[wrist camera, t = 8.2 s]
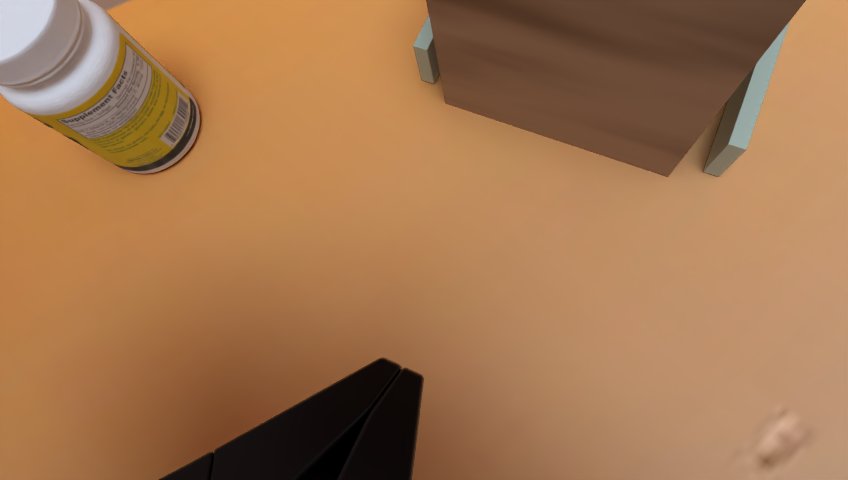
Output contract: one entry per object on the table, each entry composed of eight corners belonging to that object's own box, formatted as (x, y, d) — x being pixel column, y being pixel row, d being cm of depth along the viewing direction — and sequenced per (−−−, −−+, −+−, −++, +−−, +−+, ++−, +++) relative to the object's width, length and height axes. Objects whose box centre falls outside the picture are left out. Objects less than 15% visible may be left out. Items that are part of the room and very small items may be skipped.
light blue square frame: (718, 176, 21) (746, 149, 19) (421, 79, 24) (413, 45, 22) (792, -37, 23) (825, -86, 21) (509, -103, 26) (510, -152, 24)
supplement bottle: (94, 114, 26) (-85, -9, 18) (182, 66, 26) (41, -78, 18) (126, 195, 25) (-54, 101, 17) (218, 144, 25) (83, 26, 17)
